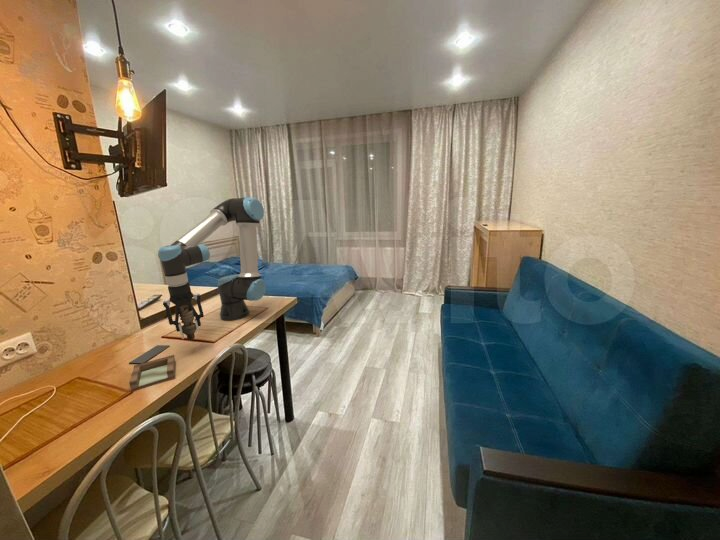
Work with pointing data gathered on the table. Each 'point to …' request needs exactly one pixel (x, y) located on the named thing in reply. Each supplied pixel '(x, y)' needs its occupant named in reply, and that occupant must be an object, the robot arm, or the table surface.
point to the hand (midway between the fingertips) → (191, 335)
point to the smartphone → (149, 354)
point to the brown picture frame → (152, 372)
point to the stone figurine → (188, 323)
